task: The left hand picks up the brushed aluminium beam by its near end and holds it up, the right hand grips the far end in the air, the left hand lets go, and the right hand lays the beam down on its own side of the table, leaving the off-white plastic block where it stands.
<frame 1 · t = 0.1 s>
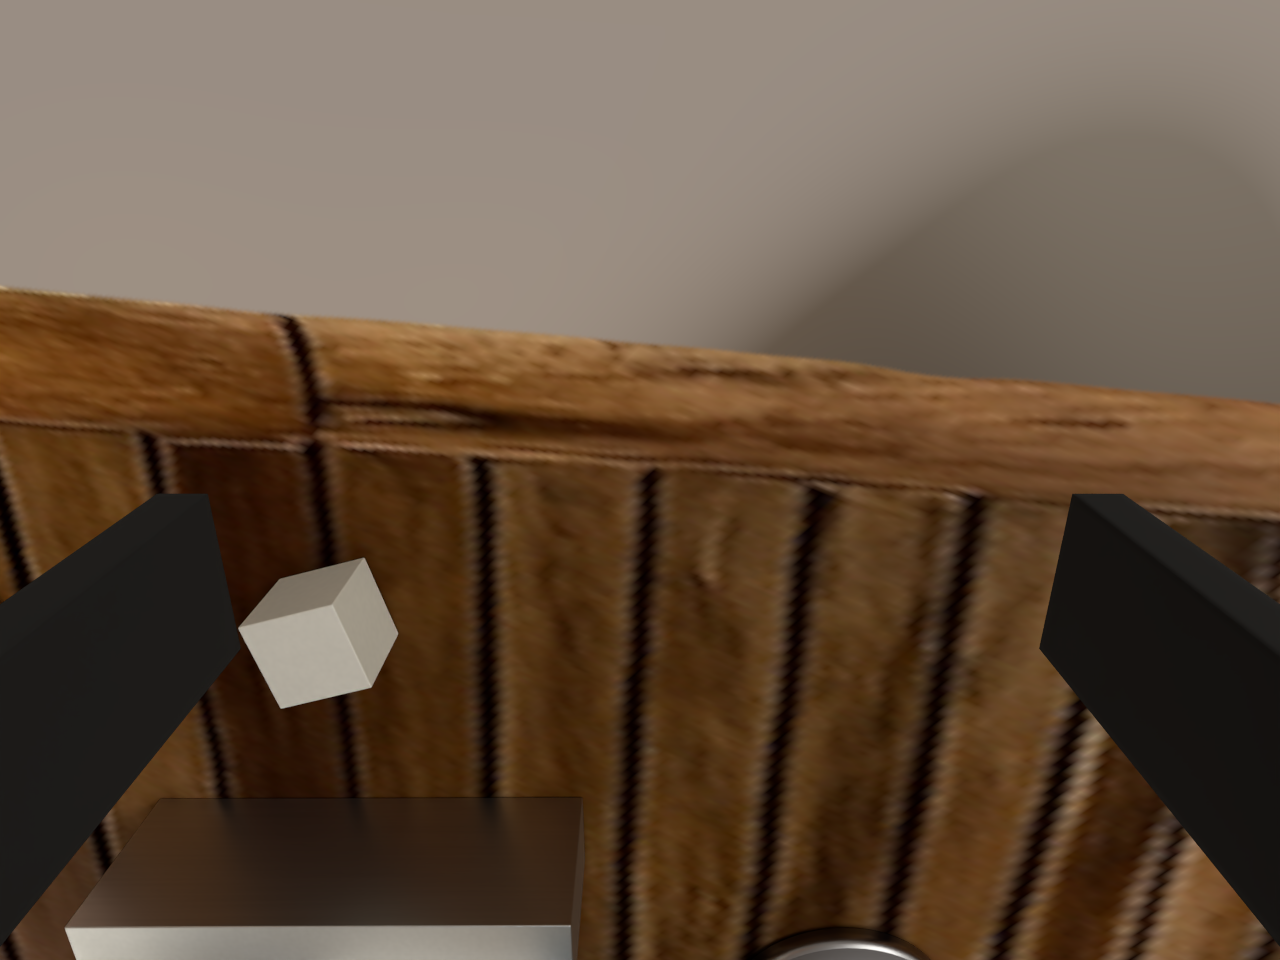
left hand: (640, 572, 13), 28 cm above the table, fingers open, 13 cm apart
beam: (376, 828, 51), on the table
plastic block: (340, 606, 45), on the table
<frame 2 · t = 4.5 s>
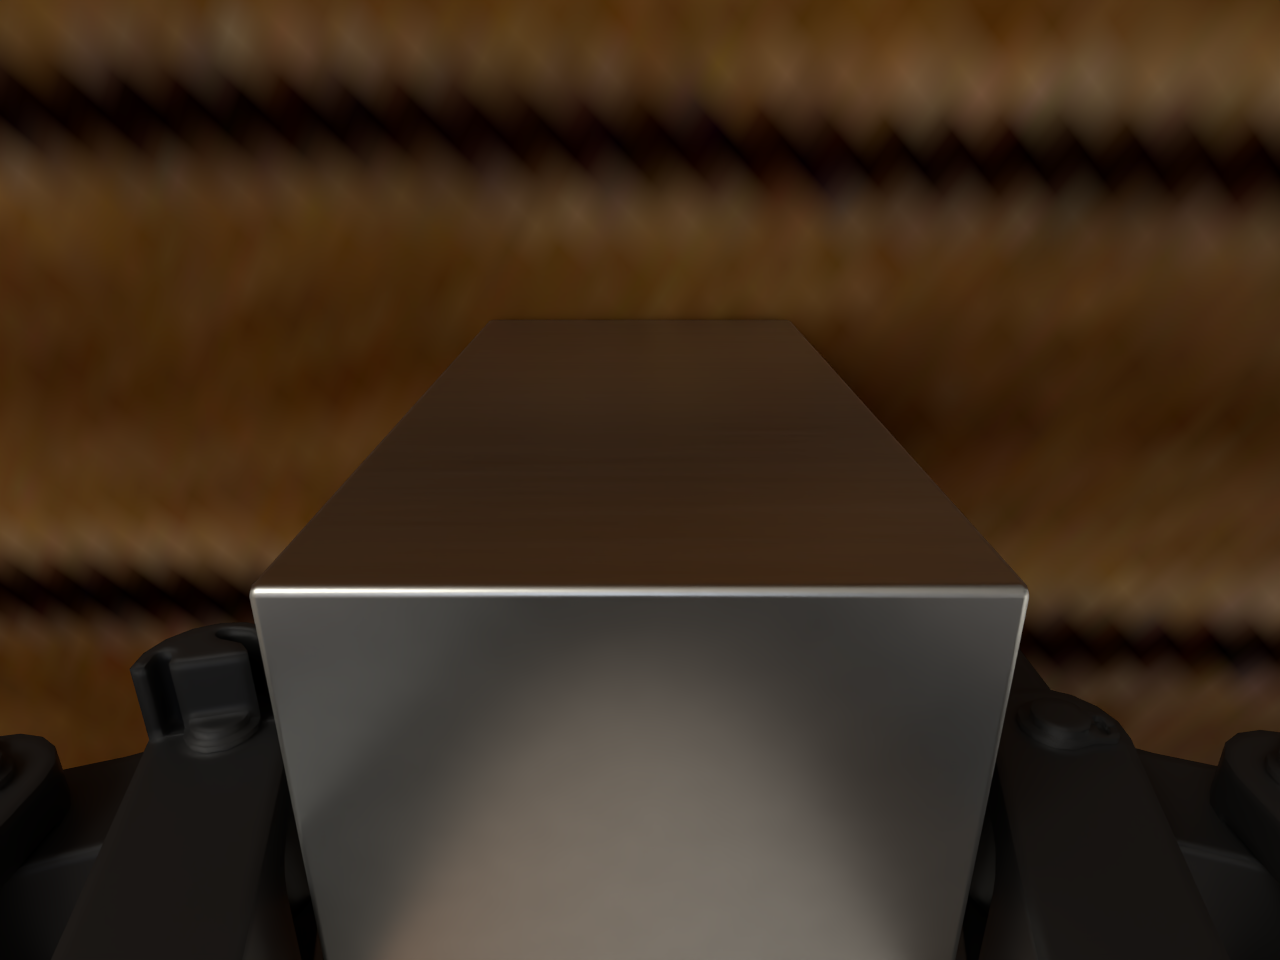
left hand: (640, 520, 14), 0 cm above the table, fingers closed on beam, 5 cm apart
beam: (639, 897, 18), on the table, touching left hand
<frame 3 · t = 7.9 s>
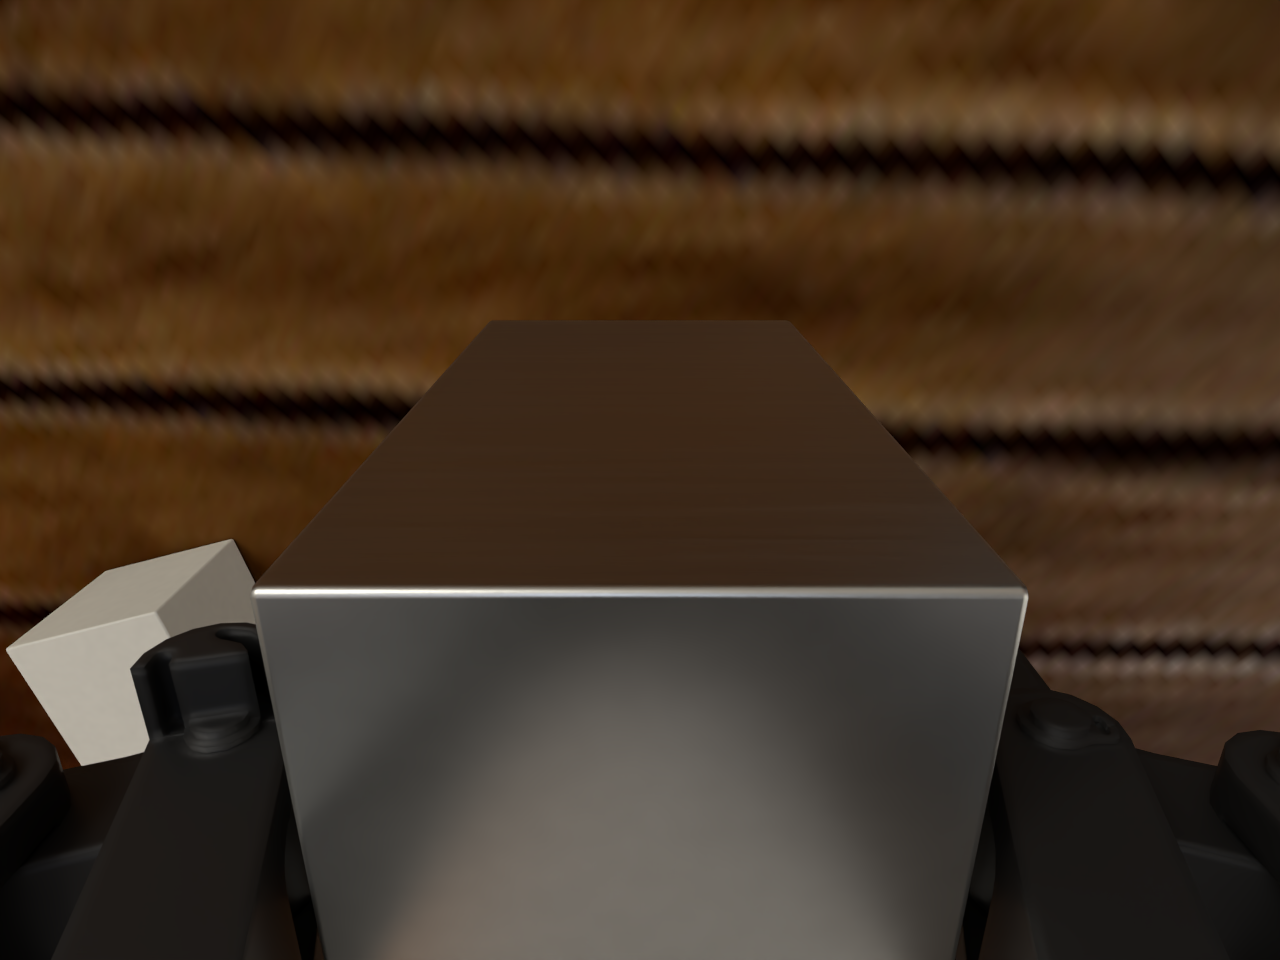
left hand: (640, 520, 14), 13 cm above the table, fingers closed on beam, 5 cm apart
beam: (639, 897, 18), point 12 cm above the table, touching left hand
plastic block: (200, 613, 30), on the table
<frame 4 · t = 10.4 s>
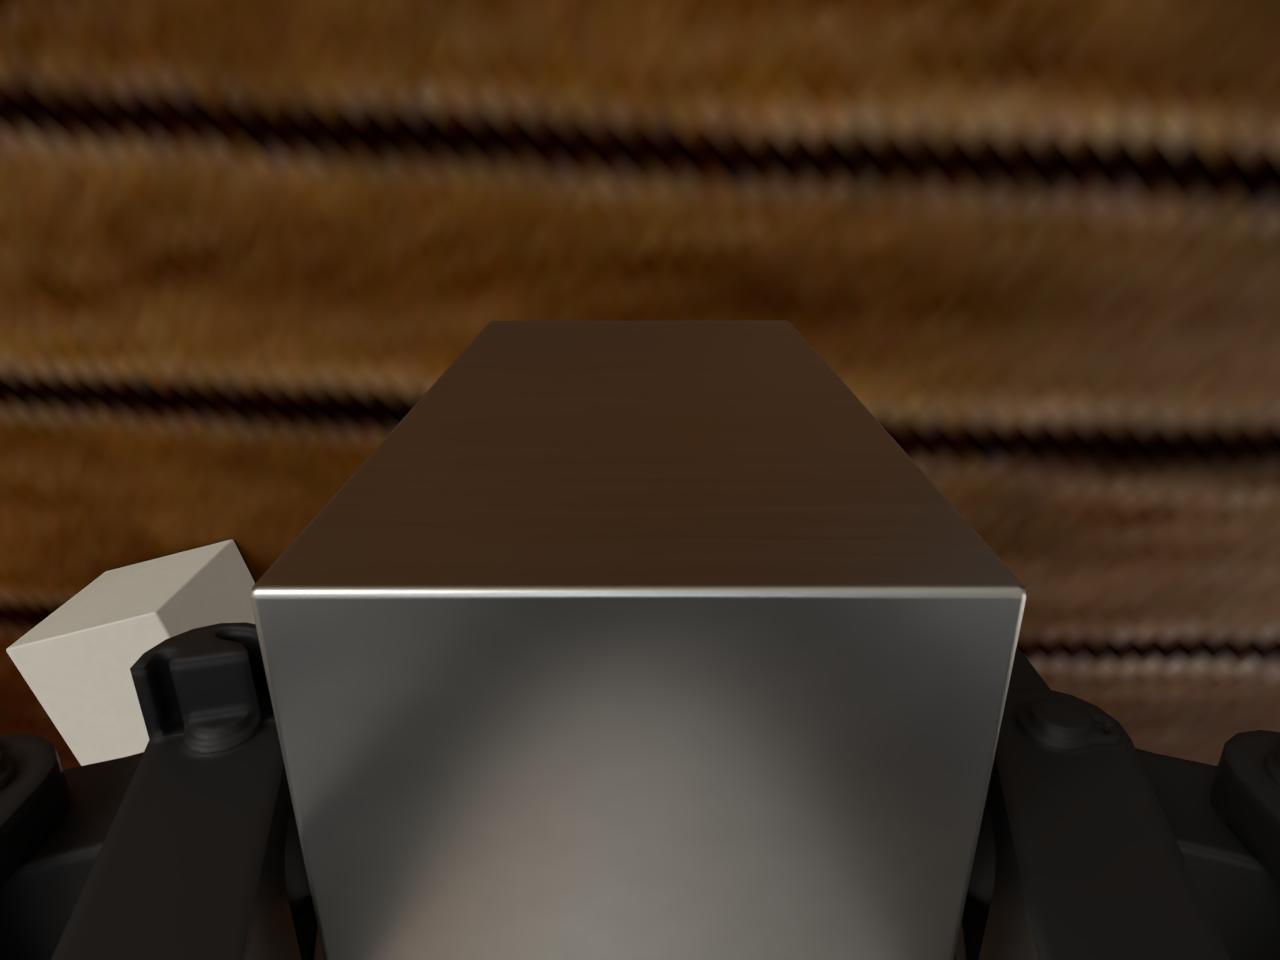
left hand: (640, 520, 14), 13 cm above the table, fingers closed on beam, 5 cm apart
beam: (640, 897, 18), point 12 cm above the table, touching left hand, right hand
plastic block: (200, 613, 30), on the table
when the left hand's fingers open (13 cm above the table, at t = 11.5 s): beam stays where it is, held by the right hand.
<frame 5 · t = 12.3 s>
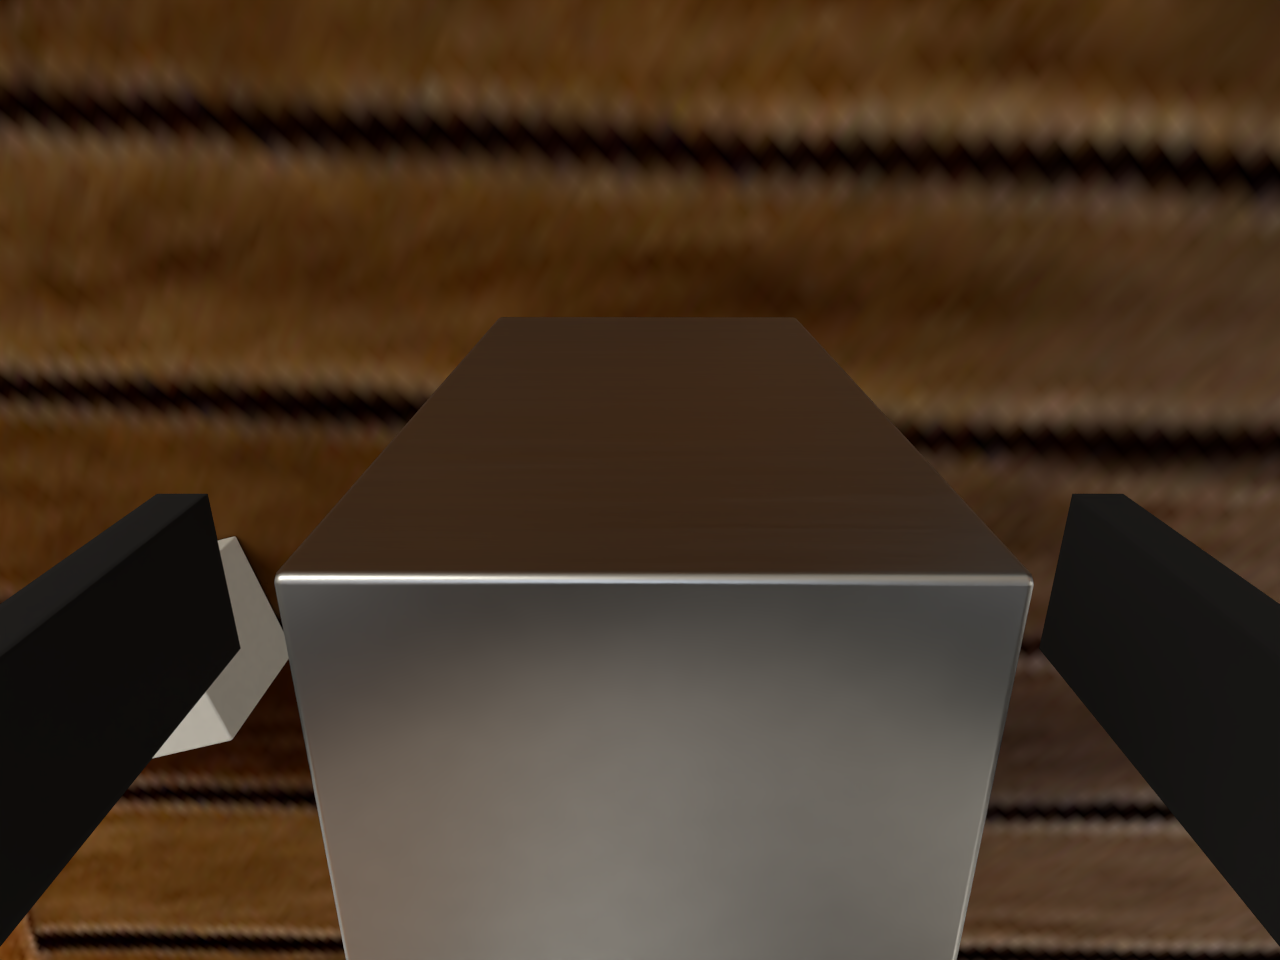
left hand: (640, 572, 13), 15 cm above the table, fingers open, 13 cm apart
beam: (645, 890, 18), point 12 cm above the table, touching right hand
plastic block: (203, 610, 30), on the table
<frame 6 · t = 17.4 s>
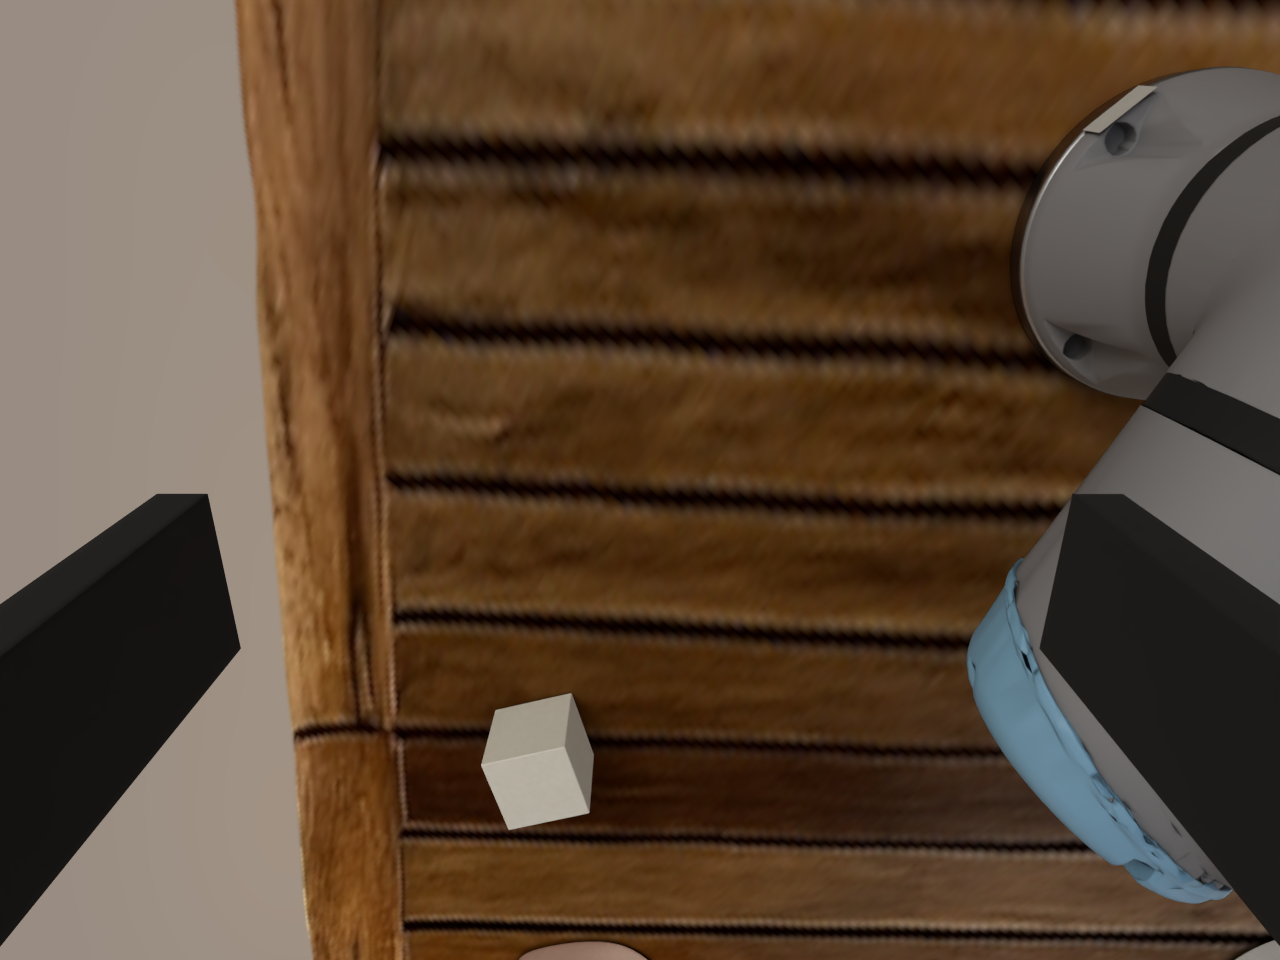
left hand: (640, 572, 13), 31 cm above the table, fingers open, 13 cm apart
plastic block: (545, 732, 52), on the table
when the right hand's fingers open (5 cm above the table, at t = 24.2 s): beam stays where it is, on the table.
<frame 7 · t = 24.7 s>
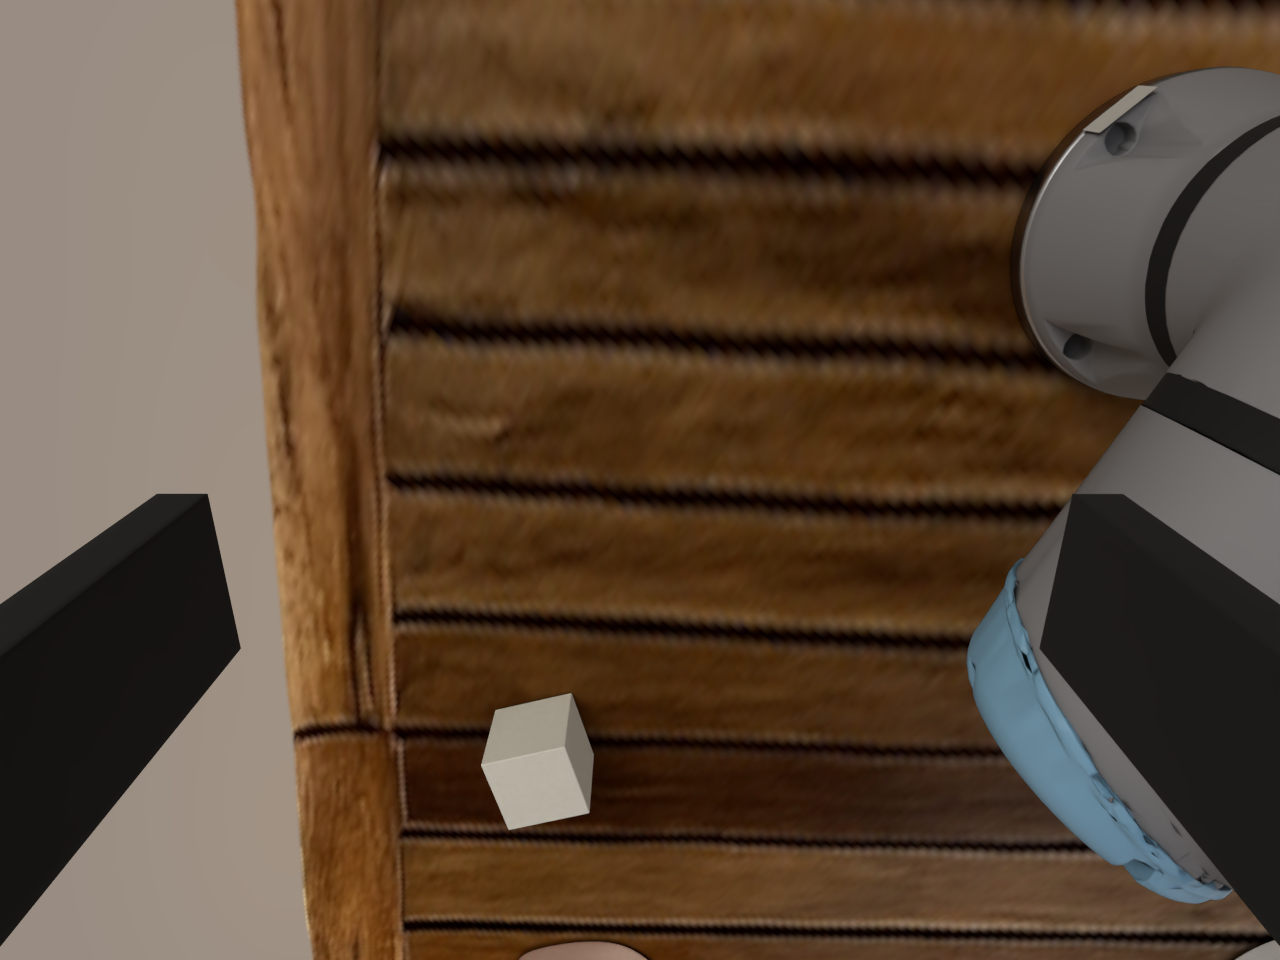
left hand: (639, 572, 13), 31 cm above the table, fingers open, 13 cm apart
plastic block: (545, 732, 52), on the table
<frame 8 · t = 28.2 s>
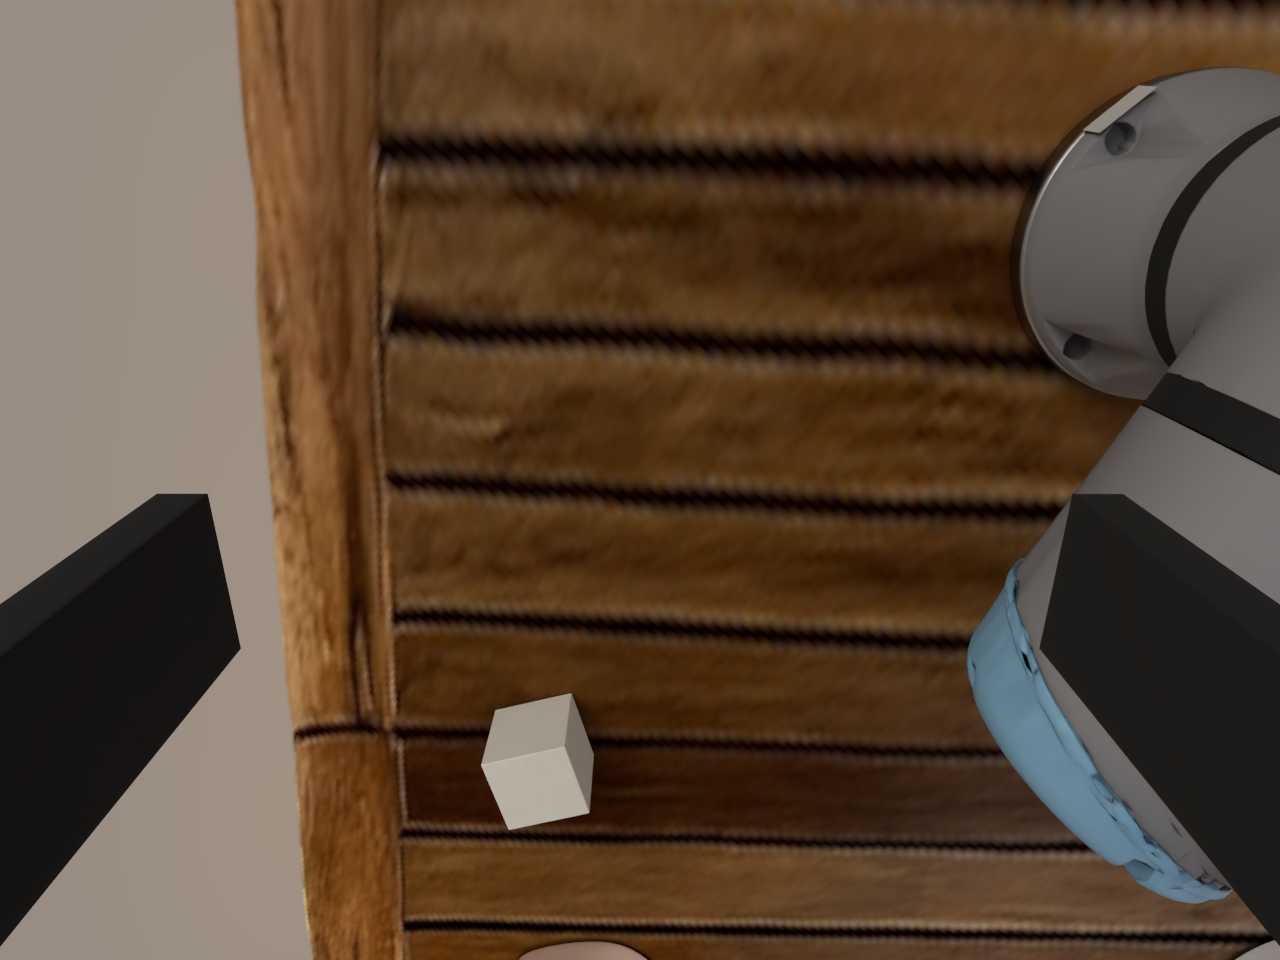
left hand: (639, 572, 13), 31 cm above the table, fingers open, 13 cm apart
plastic block: (545, 732, 52), on the table
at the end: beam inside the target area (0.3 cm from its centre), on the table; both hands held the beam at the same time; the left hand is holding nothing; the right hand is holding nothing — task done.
